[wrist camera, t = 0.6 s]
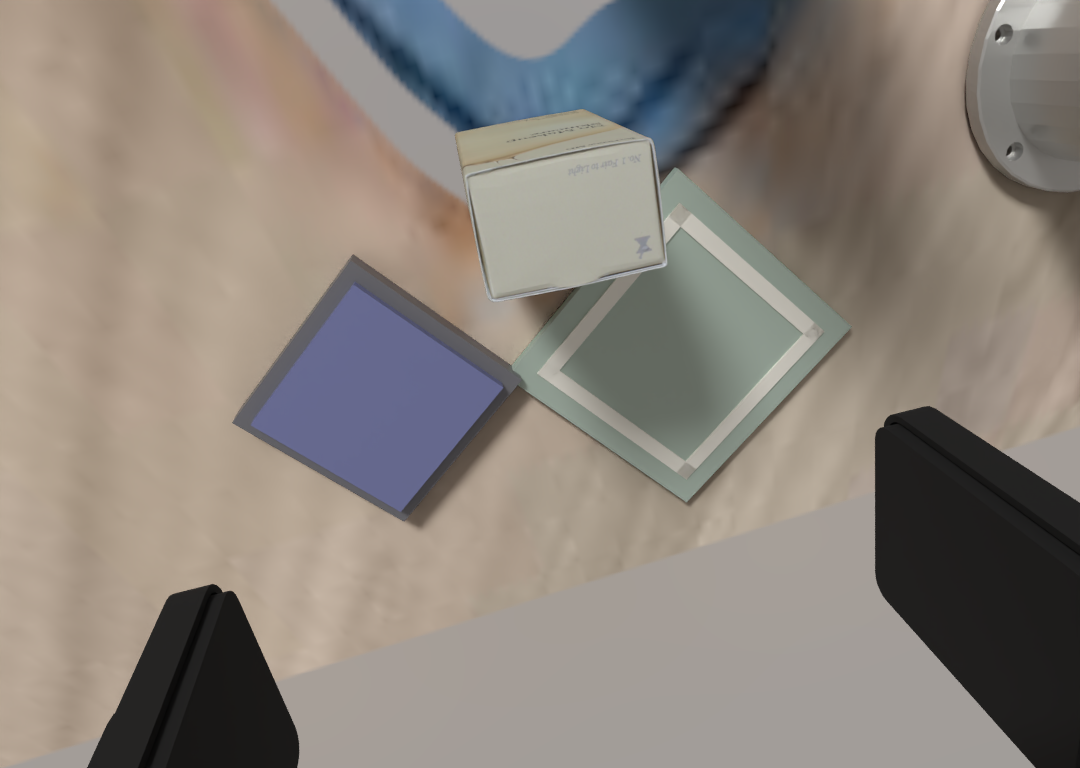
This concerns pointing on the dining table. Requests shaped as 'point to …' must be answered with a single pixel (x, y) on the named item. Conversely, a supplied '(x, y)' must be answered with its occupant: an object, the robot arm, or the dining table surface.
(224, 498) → the dining table surface
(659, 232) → the skincare box
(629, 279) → the marked board
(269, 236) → the dining table surface
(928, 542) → the robot arm
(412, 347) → the ink pad
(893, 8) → the dining table surface
